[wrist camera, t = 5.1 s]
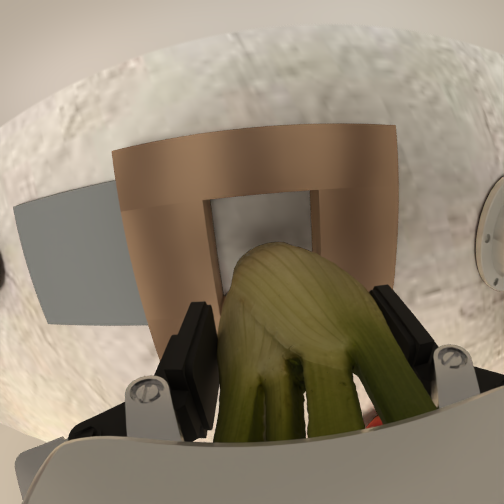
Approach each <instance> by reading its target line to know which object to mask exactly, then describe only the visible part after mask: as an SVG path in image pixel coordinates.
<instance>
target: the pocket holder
mask: <svg viewBox="0 0 504 504" xmlns="http://www.w3.org/2000/svg"><path fill="white" fill-rule="evenodd" d="M112 158H113V166H114V173H115V180H116V187H117V193H118V199H119V205H120V211H121V216H122V221H123V226H124V231H125V236H126V241H127V246H128V250H129V255H130V259H131V263H132V267H133V271H134V275H135V279H136V283H137V287H138V291H139V295H140V298H141V302H142V305H143V309H144V312H145V316H146V319H147V322H148V326H149V329H150V332H151V335H152V338H153V341H154V345H155V348H156V351H157V354H158V356H159V359H160V360H161V358H162V356H163V353H164V351H165V349H166V346H167V344H168V342H169V339H170V337H171V336H172V335H178V332H179V330H180V327H181V325H182V323H183V320H184V318H185V315H186V313H187V310H188V308H189V306H190V303H191V302H202V301H205V302H206V303H207V305H211V306H212V310H213V315H214V321H215V326H216V331H217V334H218V327H219V321H220V317H221V313H222V308H223V305H224V301H225V299H226V296H224V295H223V289H222V282H221V276H220V269H219V262H218V255H217V248H216V241H215V234H214V226H213V219H212V211H211V204H210V199H217V198H226V197H236V196H246V195H256V194H267V193H279V192H292V191H305V190H310V206H311V228H312V252H315V253H317V254H319V255H320V256H322V257H324V258H326V259H328V260H329V261H331V262H333V263H335V264H336V265H337V266H339V267H340V268H342V269H343V270H344V271H346V272H348V273H349V274H350V275H351V276H353V277H354V278H355V279H356V280H357V281H358V282H360V283H361V284H362V285H363V286H364V287H365V288H366V289H367V291H368V292H369V291H370V290H373V288H374V286H379V285H387V284H388V285H389V286H390V287H391V288H392V289H393V285H394V275H395V265H396V252H397V235H398V205H399V181H398V151H397V135H396V125H379V124H298V125H279V126H265V127H253V128H243V129H233V130H225V131H217V132H209V133H202V134H195V135H189V136H183V137H177V138H171V139H165V140H160V141H155V142H150V143H145V144H140V145H136V146H131V147H127V148H122V149H118V150H114V151H112Z"/></svg>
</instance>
